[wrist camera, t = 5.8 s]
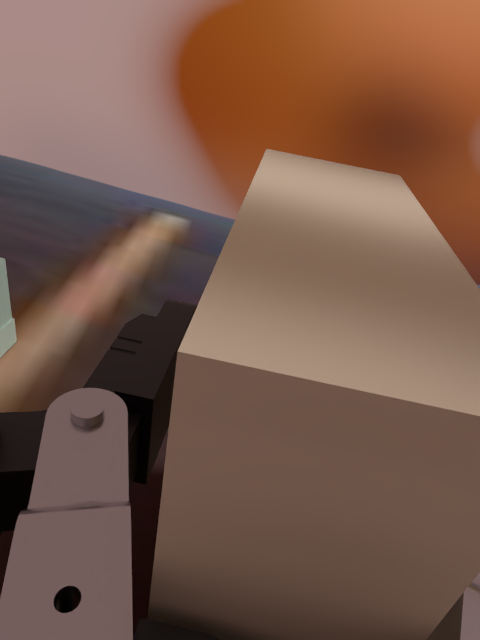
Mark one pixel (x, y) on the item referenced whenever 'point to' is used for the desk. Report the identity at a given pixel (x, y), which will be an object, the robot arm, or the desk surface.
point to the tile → (324, 420)
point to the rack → (5, 313)
